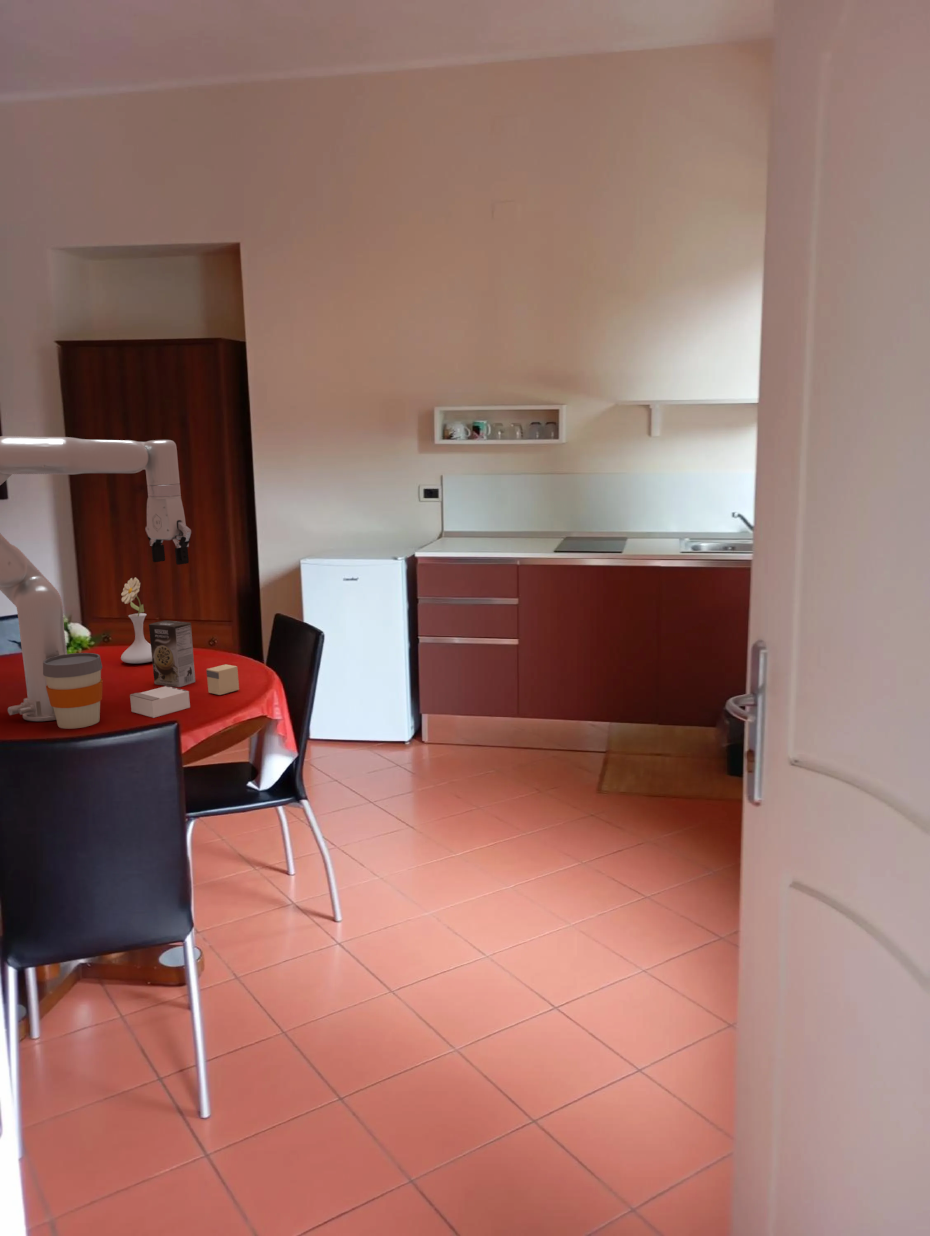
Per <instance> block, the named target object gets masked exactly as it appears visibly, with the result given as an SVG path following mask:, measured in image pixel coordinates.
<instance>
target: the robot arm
mask: <svg viewBox="0 0 930 1236" xmlns="http://www.w3.org/2000/svg"><path fill="white" fill-rule="evenodd" d="M177 448H178V447H177V444H176V442H175V441H174V440H171V439H155V440H154V439H152V440H147V441H137V440H131V439H125V440H123V439H120V440H119V439H85V438H78V437H71V436H70V437H68V436H31V435H29V436H28V435H26V436H25V435H19V436H18V435H1V436H0V486H1V485H3V484H4V482H6V481H7V480H8V479H9V478H11V476H12V475H72V476H73V475H81V474H82V475H83V474H136V473H140V472H141V471H143V470H145V475H146V486H147V500H146V526H145V532H146V536H147V539H148V541H149V546H151V557H152V562H153V563H159V562H165V561H166V556H165V544H163V542H164V541H171V540H172V542H173V543H174V545H175V548H174V554H175V555H174V556H175V563H176V565H179V566H180V565H185V564H189V561H190V560H189V559H190V557H189V551H188V550H189V549H188V548H189V547H190V542H191V534H192V529H191V528H189V527H188V526H187V524H186V516H185V510H184V506H183V505H184V504H183V501H182V496H181V495H182V494H181V484H180V471H179V460H178V459H179V458H178V450H177ZM0 592H1V593H2V594H3V595H4V596H5V597H6V598H7V599H8V600H9V601H10V602H11V603H12V604H13V605H14V606H15V607H16V612H17V617H18V618H17V619H18V626H19V638H20V645H21V652H22V660H23V662H22V663H23V669H24V677H25V687H26V694H27V697H25V698H23V702H21V703H20V704H17V705H12V706H8V708H7V713H8V715H9V716H13V715H17V714H19V715H22V719H23V720H25V721H28V722H49V721H51V722H52V721H57V720H56V716H55V712H54V708H53V707H52V706H51V705H50V701H49V697H48V693H47V689H46V686H47V682H46V678H45V676H44V675H43V661H44V660H46V659H48V658H51V657H55V656H59V655H65V654H68V650H67V644H66V643H67V642H66V636H65V635H66V634H65V624H64V621H65V620H64V619H65V618H64V606H63V601H62V597H61V595H60V593H59V591H58V589H56V587H55V586H54V585H53V584H52V582H50V581H49V580H48V579H47V578H46V576H44V574H43V573H42V572H41V571H40V570H39V569H38V568H37V567H36V565H34V563H33V562H32V561H30V559H29V558H28V557H27V556H26V555H25V554H24V553H23V552H22V551H21V550H20V548H18V547H17V546H15V545H14V544H12V543H10V542H9V541H8V540H7V539H6V538H5V536H3V535H2V534H1V533H0Z"/></svg>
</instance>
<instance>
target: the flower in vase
mask: <svg viewBox="0 0 930 1236" xmlns="http://www.w3.org/2000/svg"><path fill="white" fill-rule="evenodd" d="M140 587H141V582H140V580H139V579H138V578H137V577H134V578H133V577H131V578H130V579H129V580H127V583H124V587H123V589H122V592H121V594H120V595H121V596H122V597H121V602H122V603H124V604H125V605H126V604H127V605H128V604H129V603H130V607H131V608H132V609H134V610H135V611H138V612H137V613H133V614H129V615H127V616H128V618H129V619H130V620H131V622H132V623H133V624H132V625H133V629H134V636H135V637H134V641H133V642H132V644H131V645H130V646H128V648H127V649H126V650H124V652H122V654H121V657H120V660H121V661H122V662H124V663H127V664H137V665H138V664H146V663H151V662H152V652H151V642H150V643H149V642H148V641H147V640H146V639H145V635H144V621H145V618H146V616H147V613H144V612H145V609H144V603H143V604H141V603H142V602H141V601H140V597H138V593H139V592H140ZM135 598H136V599H137V601H138V603H139V606H138V605H136V604H135V603H134V602H133V601H135V600H136V599H135Z"/></svg>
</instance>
